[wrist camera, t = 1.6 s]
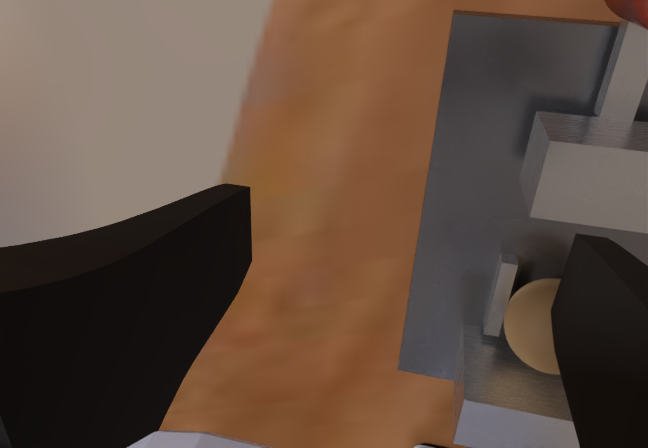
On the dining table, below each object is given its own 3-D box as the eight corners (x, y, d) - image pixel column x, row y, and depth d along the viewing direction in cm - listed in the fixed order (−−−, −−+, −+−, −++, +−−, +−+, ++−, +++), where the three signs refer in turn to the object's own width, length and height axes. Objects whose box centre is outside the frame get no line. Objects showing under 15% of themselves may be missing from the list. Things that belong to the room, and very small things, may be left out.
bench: (636, 397, 24) (681, 511, 19) (400, 352, 26) (386, 446, 21) (810, 36, 16) (958, 76, 11) (453, 10, 18) (451, 34, 13)
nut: (580, 339, 22) (600, 404, 19) (492, 323, 22) (498, 384, 19) (607, 268, 20) (634, 327, 17) (511, 253, 21) (520, 308, 18)
